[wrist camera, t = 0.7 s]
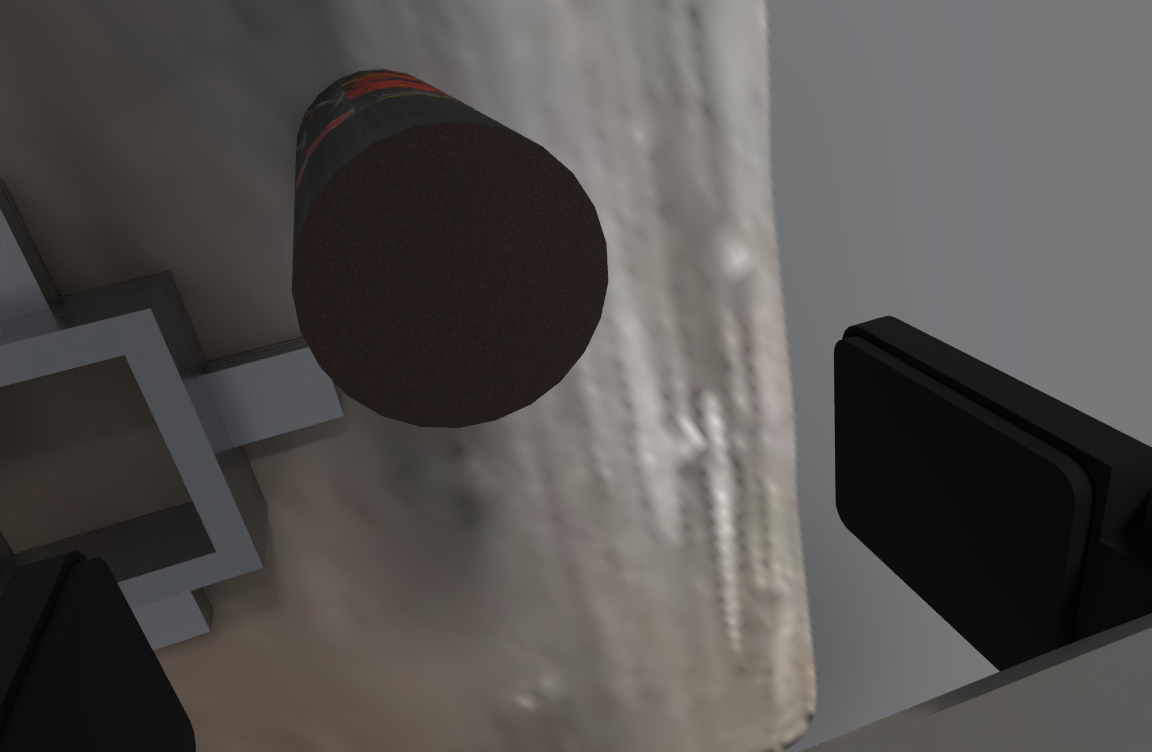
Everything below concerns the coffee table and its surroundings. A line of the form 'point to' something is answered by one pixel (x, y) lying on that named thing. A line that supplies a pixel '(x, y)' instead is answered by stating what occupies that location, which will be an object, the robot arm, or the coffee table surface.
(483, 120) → the deodorant
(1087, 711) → the robot arm
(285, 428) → the tabbed square frame
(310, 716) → the coffee table surface
